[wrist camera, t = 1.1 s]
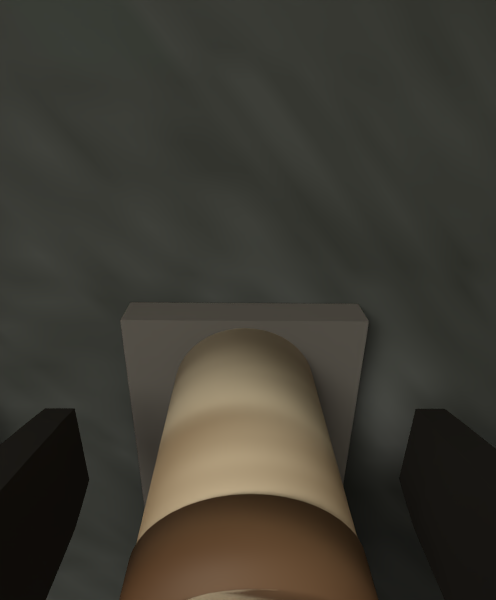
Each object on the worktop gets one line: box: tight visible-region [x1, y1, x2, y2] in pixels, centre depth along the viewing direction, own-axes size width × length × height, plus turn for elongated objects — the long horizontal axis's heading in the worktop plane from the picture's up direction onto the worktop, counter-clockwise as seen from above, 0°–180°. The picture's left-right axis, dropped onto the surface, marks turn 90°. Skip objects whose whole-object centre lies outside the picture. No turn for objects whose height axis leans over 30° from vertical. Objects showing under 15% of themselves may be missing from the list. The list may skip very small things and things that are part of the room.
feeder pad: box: [120, 302, 369, 507], centre depth 13 cm, size 11×6×1 cm, turn 179°
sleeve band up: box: [119, 328, 378, 600], centre depth 8 cm, size 4×4×6 cm
